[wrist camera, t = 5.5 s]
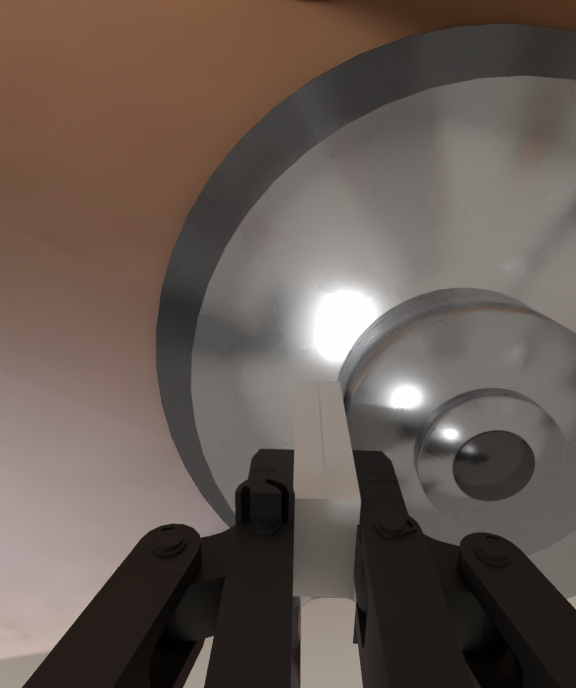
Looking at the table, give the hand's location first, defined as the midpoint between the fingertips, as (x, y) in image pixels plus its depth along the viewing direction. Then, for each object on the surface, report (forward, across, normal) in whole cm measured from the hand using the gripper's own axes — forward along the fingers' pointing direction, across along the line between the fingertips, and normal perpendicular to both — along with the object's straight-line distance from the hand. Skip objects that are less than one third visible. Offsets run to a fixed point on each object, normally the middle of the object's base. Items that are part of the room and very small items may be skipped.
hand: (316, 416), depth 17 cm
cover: (+2, +5, 0) cm, 6 cm away
